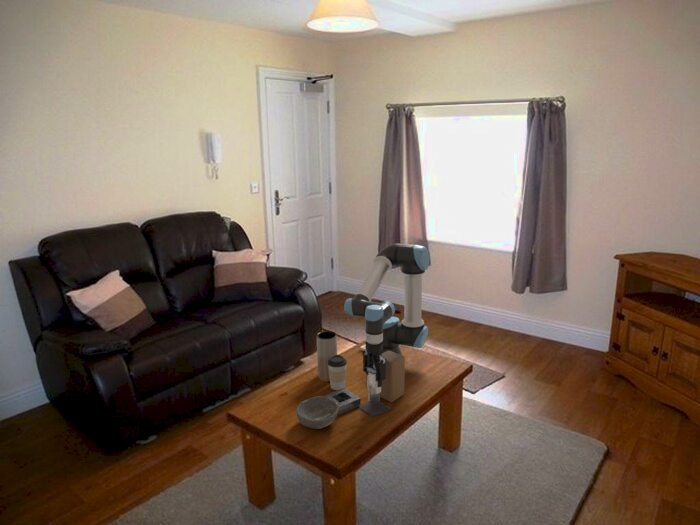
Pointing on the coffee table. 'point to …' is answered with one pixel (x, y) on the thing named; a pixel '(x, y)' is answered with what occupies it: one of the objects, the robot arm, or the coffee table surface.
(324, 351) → the planter
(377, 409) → the mat
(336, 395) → the frame
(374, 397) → the silver domed cylinder
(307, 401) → the bowl
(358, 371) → the coffee table surface
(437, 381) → the coffee table surface
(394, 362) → the wooden block
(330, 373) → the coffee cup
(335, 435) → the coffee table surface
